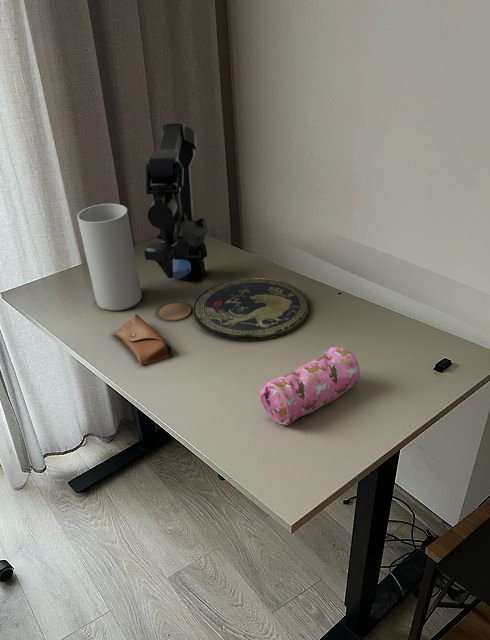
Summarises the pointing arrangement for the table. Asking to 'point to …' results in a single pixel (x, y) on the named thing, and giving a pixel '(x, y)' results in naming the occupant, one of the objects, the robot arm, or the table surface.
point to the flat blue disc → (180, 268)
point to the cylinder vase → (110, 256)
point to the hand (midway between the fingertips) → (177, 271)
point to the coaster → (174, 311)
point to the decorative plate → (250, 309)
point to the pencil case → (310, 385)
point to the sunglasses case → (143, 341)
